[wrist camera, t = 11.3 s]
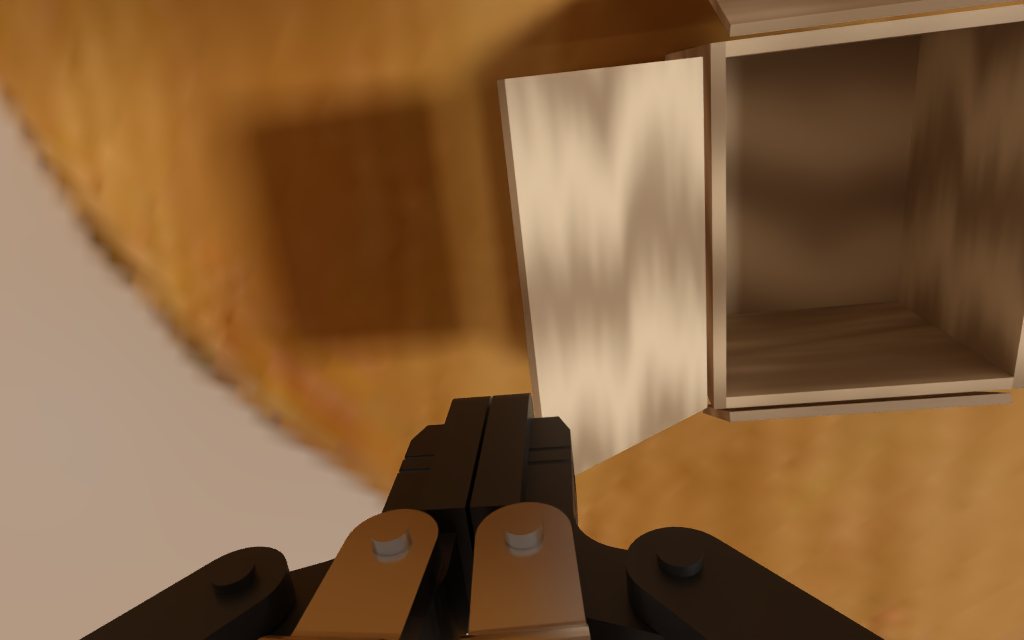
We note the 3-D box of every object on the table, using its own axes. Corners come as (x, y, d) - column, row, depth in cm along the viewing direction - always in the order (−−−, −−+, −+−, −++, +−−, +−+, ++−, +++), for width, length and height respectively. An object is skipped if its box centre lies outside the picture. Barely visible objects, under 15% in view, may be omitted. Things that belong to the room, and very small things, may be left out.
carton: (662, -15, 30) (711, -60, 21) (1025, -63, 29) (1262, -137, 19) (674, 373, 37) (715, 475, 27) (968, 351, 35) (1122, 451, 26)
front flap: (693, 57, 22) (496, 80, 18) (702, 56, 22) (504, 79, 18) (699, 404, 26) (542, 483, 22) (707, 407, 26) (549, 488, 22)
